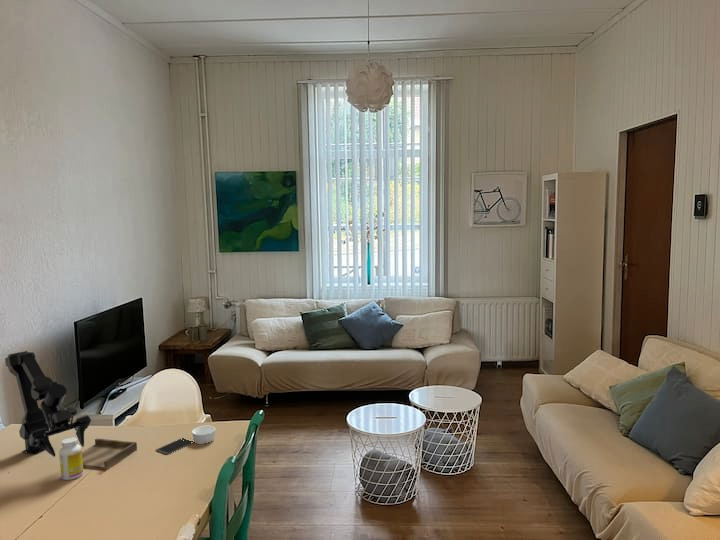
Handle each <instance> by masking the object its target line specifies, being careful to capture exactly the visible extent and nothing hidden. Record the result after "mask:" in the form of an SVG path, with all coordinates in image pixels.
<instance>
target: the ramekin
mask: <svg viewBox="0 0 720 540" xmlns="http://www.w3.org/2000/svg"><path fill="white" fill-rule="evenodd" d="M191 432H192V433H191V434H192V437H193V438H192V439H193V440H194V442H195V444H196V443H198V444H197V445H205V444H204V443H207V444H209V443H208V442H210V443H212V442H213V441H214V440H215V438H216V437H215V436H216V435H215V434H216V427H214V426H213V425H201V426H198V427H195V428H194V429H192V431H191ZM211 441H212V442H211Z"/></svg>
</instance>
